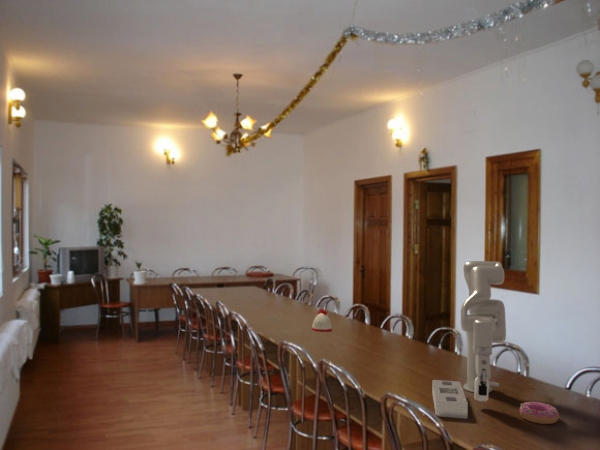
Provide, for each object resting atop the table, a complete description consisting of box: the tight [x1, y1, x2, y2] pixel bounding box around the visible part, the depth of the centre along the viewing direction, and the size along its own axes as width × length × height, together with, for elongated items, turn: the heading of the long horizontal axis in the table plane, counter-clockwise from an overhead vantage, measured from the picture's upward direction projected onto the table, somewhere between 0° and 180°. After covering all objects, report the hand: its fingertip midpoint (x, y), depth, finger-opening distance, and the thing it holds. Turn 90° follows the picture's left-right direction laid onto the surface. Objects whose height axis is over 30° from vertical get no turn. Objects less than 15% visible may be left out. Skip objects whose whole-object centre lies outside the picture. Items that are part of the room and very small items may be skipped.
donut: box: [519, 401, 560, 425], centre depth 216 cm, size 14×14×5 cm
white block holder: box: [431, 379, 469, 420], centre depth 230 cm, size 12×30×6 cm, turn 169°
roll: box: [473, 377, 489, 402], centre depth 226 cm, size 6×12×6 cm
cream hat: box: [311, 308, 333, 333], centre depth 386 cm, size 14×14×15 cm
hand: (481, 391), depth 226 cm, fingers closed on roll, 5 cm apart
